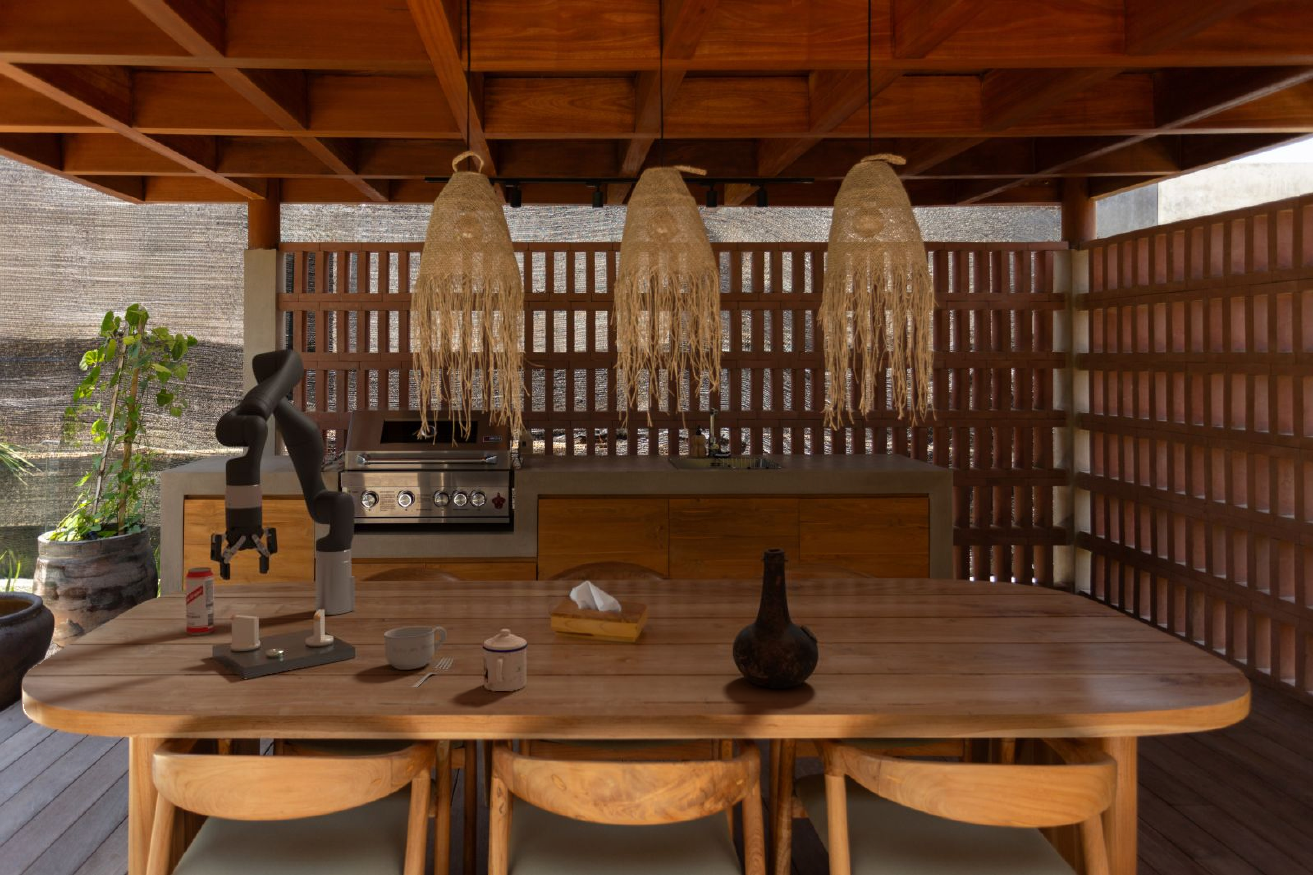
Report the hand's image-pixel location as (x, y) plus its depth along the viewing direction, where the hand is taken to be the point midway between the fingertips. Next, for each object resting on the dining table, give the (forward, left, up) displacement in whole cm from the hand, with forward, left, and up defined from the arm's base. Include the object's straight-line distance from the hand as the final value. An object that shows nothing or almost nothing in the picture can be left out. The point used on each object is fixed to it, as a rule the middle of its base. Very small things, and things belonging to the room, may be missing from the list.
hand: (245, 576), depth 200 cm
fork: (-23, +40, -20) cm, 50 cm away
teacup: (-27, +29, -19) cm, 44 cm away
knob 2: (-14, +7, -16) cm, 22 cm away
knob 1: (0, 0, -16) cm, 16 cm away
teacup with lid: (-33, +55, -19) cm, 67 cm away
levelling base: (-7, +4, -19) cm, 20 cm away
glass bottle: (-78, +89, -19) cm, 120 cm away
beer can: (+1, -31, -19) cm, 36 cm away
